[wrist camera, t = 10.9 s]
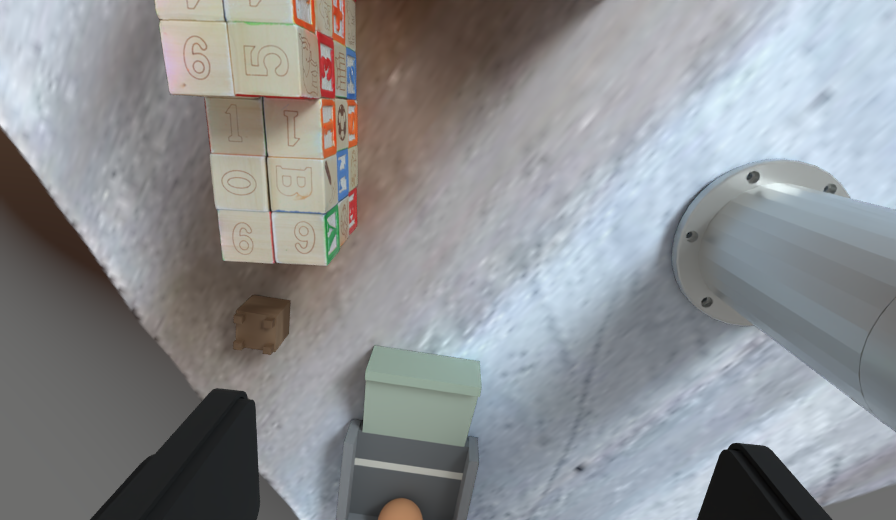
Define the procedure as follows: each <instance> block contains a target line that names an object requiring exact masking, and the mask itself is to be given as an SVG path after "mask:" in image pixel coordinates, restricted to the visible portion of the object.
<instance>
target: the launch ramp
mask: <svg viewBox="0 0 896 520" xmlns="http://www.w3.org/2000/svg"><path fill="white" fill-rule="evenodd" d="M365 380H366V387H365V401H364V416H363V431H362V432H365V433H372V434H379V435H386V436H393V437H399V438H406V439H413V440H420V441H427V442H434V443H440V444H447V445H454V446H461V447H464V446H465V442H466V439H467V435H468V431H469V428H470V424H471V420H472V417H473V413H474V409H475V406H476V402H477V399H478V397H480V393H481V388H482V387H481V374H480V361H474V360H467V359H461V358H454V357H448V356H441V355H434V354H428V353H421V352H415V351H408V350H401V349H395V348H388V347H381V346H374V348H373V351H372V354H371V357H370V360H369V363H368V365H367V368H366V372H365Z"/></svg>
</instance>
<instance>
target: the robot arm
mask: <svg viewBox="0 0 896 520" xmlns="http://www.w3.org/2000/svg"><path fill="white" fill-rule="evenodd" d="M748 174H749V176H748V177H747V175H748ZM688 232H689V235H688V236H686V235H687V233H688ZM672 267H673V271H674V275H675V279H676V281H677V283H678V285H679V287H680V289H681V291H682V293H683V294H684V295H685V296H686V297H687V299H688V300H689V301H690V302H691V303H692V304H693V305H694V306H695V307H696V308H698V309H699V310H700V311H701V312H703V313H704V314H706V315H708V316H709V317H711V318H713V319H715V320H718V321H721V322H724V323H726V324H732V325H738V326H756V327H757V328H758V329H760V330H761V331H762V332H764V333H765V334H766V335H768V336H769V337H770V338H772V339H773V340H774V341H776V342H777V343H778V344H780V345H781V346H782V347H783V348H785V349H786V350H787V351H789V352H790V353H791V354H793V355H794V356H795V357H797V358H798V359H799V360H801V361H802V362H803V363H805V364H806V365H807V366H809V367H810V368H811V369H812V370H814V371H815V372H816V373H818V374H819V375H820V376H822V377H823V378H824V379H826V380H827V381H828V382H830V383H831V384H832V385H834V386H835V387H836V388H837V389H839V390H840V391H841V392H843V393H844V394H845V395H847V396H848V397H849V398H851V399H852V400H853V401H855V402H856V403H857V404H859V405H860V406H861V407H863V408H864V409H865V410H866V411H868V412H869V413H870V414H872V415H873V416H874V417H876V418H877V419H878V420H880V421H881V422H882V423H884V424H885V425H887V426H888V427H890V428H891V429H892V430H894V431H895V432H896V210H895V209H891V208H887V207H883V206H879V205H875V204H871V203H867V202H863V201H859V200H855V199H851V198H850V196H849V194H848V193H847V191H846V190H845V188H844V187H843V185H842V184H841V183H840V182H839V181H838V180H837V179H836V178H834V177H833V176H832V175H831V174H830V173H828V172H826V171H825V170H823V169H821V168H819V167H817V166H815V165H811V164H807V163H804V162H800V161H794V160H787V159H766V160H761V161H756V162H752V163H748V164H745V165H743V166H740V167H738V168H735V169H733V170H730V171H729V172H727V173H725V174H724V175H722V176H720V177H719V178H717V179H715V180H714V181H713V182H712V183H711V184H709V185H708V186H707V187H706V188H705V189H704V190H702V191H701V192H700V193H699V195H698V196H697V197H696V198H695V199H694V200H693V202H692V203H691V204H690V205H689V207H688V208H687V210H686V212H685V213H684V215H683V217H682V218H681V220H680V223H679V225H678V228H677V231H676V233H675V236H674V242H673V247H672ZM259 507H260V495H259V473H258V452H257V430H256V409H255V402H254V400H250V399H248V398H247V394H246V392H244V391H237V390H228V389H218V388H216V389H213V390H212V391H211V392H210V393H209V394H208V395H207V396H206V397H205V399H204V400H203V401H202V402H201V403H200V404H199V405H198V406H197V408H196V409H195V410H194V411H193V412H192V413H191V414H190V415H189V416H188V418H187V419H186V420H185V421H184V422H183V423H182V424H181V426H180V427H179V428H178V429H177V430H176V431H175V432H174V433H173V434H172V436H171V437H170V438H169V439H168V440H167V441H166V442H165V444H164V445H163V446H162V447H161V448H160V449H159V450H158V451H157V452H156V454H154V455H151V456H149V457H148V458H147V459H146V460H144V461H143V462H142V463H141V464H140V465H139V466H138V467H137V468H136V469H135V471H134V472H133V473H132V474H131V475H130V476H129V477H128V478H127V479H126V481H125V482H124V483H123V484H122V485H121V486H120V487H119V488H118V489H117V490H116V492H115V493H114V494H113V495H112V496H111V497H110V498H109V499H108V500H107V502H106V503H105V504H104V505H103V506H102V507H101V508H100V509H99V510H98V511H97V513H96V514H95V515H94V516H93V517H92V518H91V519H90V520H256V519H257V516H258V512H259ZM697 520H832V519H831V518H830V516H829V515H828V514H827V513H826V512H825V511H824V510H823V508H822V507H821V506H820V505H819V504H818V503H817V502H816V500H815V499H814V498H813V497H812V496H811V495H810V494H809V492H808V491H807V490H806V489H805V488H804V487H803V486H802V484H801V483H800V482H799V481H798V480H797V479H796V478H795V476H794V475H793V474H792V473H791V472H790V471H789V470H788V468H787V467H786V466H785V465H784V464H783V463H782V462H781V460H780V459H779V458H778V457H777V456H776V455H775V454H774V452H773V451H772V450H770V449H769V448H768V447H766V446H761V445H752V444H742V443H733V444H731V445H730V446H729V448H728V450H723V451H722V452H721V454H720V456H719V458H718V461H717V464H716V467H715V470H714V473H713V476H712V478H711V481H710V484H709V487H708V490H707V493H706V496H705V498H704V501H703V504H702V507H701V510H700V513H699V516H698V518H697Z"/></svg>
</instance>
